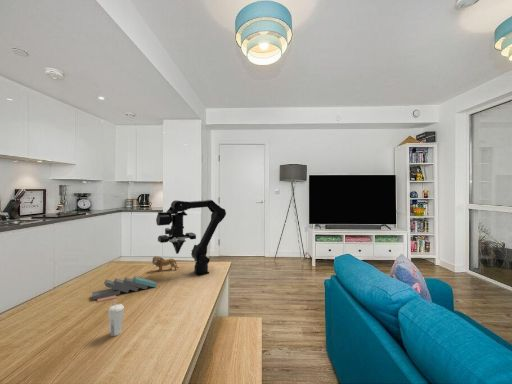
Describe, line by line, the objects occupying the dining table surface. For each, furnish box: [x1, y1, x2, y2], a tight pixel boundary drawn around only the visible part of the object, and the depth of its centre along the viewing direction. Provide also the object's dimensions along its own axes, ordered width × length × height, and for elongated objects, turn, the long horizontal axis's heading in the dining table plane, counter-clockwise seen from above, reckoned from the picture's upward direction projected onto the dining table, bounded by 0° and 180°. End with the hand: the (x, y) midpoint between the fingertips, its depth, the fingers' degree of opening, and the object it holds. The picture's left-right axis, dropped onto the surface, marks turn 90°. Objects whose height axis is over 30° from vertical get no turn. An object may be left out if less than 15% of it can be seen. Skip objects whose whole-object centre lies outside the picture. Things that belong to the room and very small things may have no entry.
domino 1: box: [91, 288, 121, 301], centre depth 109 cm, size 2×5×10 cm
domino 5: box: [132, 275, 158, 288], centre depth 119 cm, size 2×5×10 cm
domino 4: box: [122, 277, 149, 290], centre depth 116 cm, size 2×5×10 cm
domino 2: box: [103, 278, 130, 294], centre depth 112 cm, size 2×5×10 cm
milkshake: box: [107, 299, 125, 337], centre depth 81 cm, size 5×5×10 cm
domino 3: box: [113, 277, 140, 292], centre depth 114 cm, size 2×5×10 cm
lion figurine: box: [151, 255, 179, 273], centre depth 144 cm, size 15×5×9 cm, turn 119°
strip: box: [96, 295, 117, 303], centre depth 109 cm, size 7×10×1 cm
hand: (177, 253), depth 132 cm, fingers closed
